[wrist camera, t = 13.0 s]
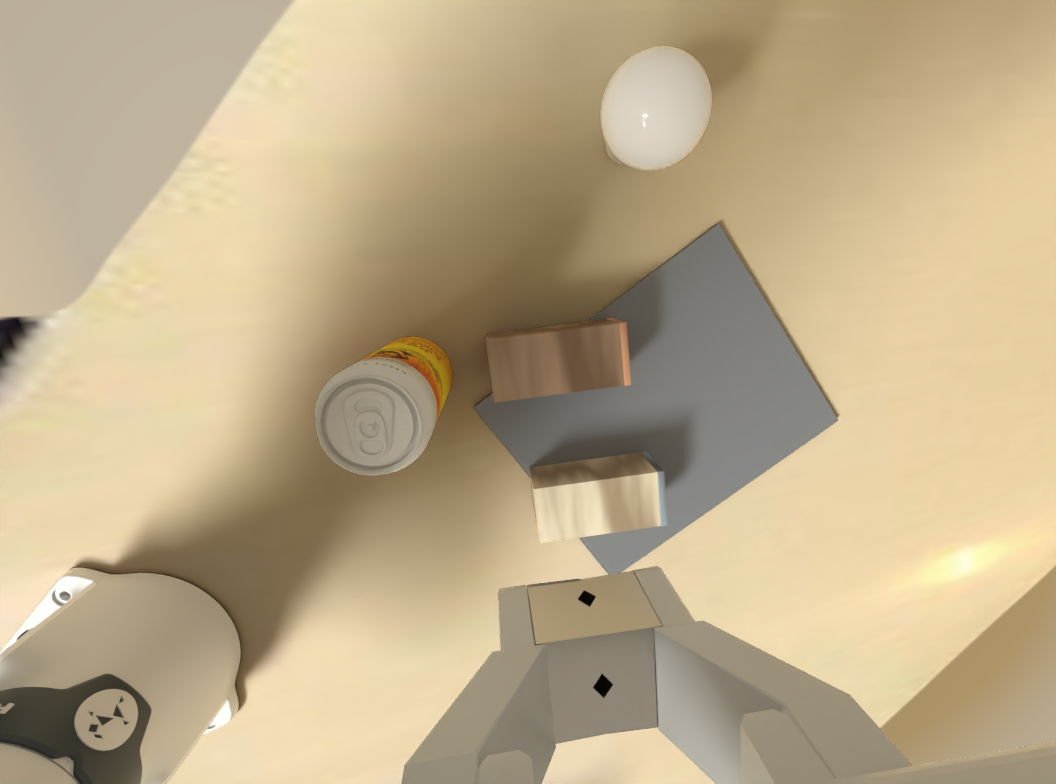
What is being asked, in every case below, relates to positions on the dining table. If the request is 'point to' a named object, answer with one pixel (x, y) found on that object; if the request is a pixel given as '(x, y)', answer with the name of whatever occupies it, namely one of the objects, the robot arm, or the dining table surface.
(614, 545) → the rubber mat
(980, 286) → the dining table surface
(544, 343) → the walnut block
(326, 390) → the beer can
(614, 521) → the maple block
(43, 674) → the robot arm
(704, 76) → the lightbulb
